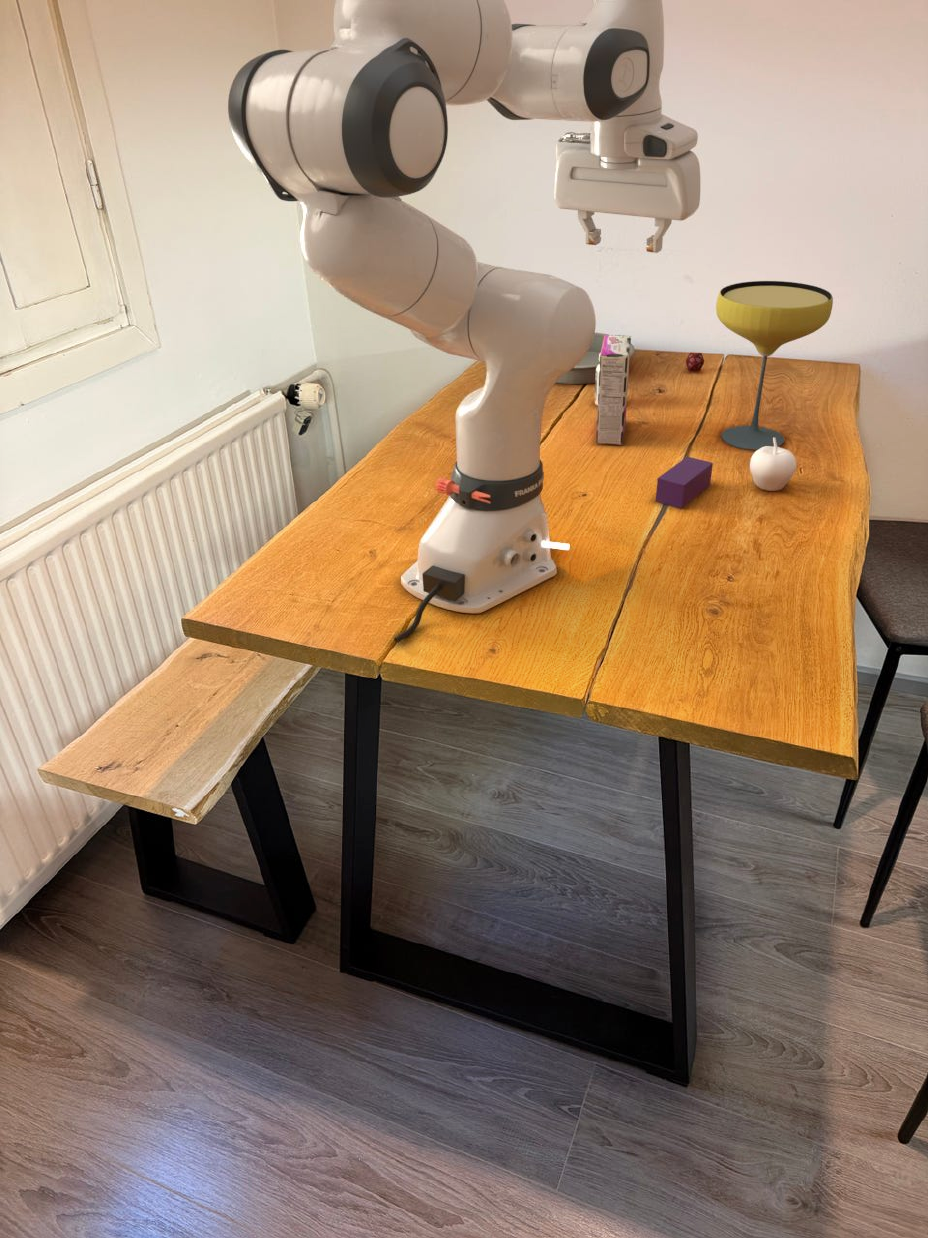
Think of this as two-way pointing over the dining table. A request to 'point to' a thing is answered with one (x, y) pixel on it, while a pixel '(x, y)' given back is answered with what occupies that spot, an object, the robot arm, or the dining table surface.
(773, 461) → the plain white apple
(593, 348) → the cake pan
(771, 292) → the cocktail glass
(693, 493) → the purple rectangular block
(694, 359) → the dice
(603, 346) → the candy bar box
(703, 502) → the dining table surface
